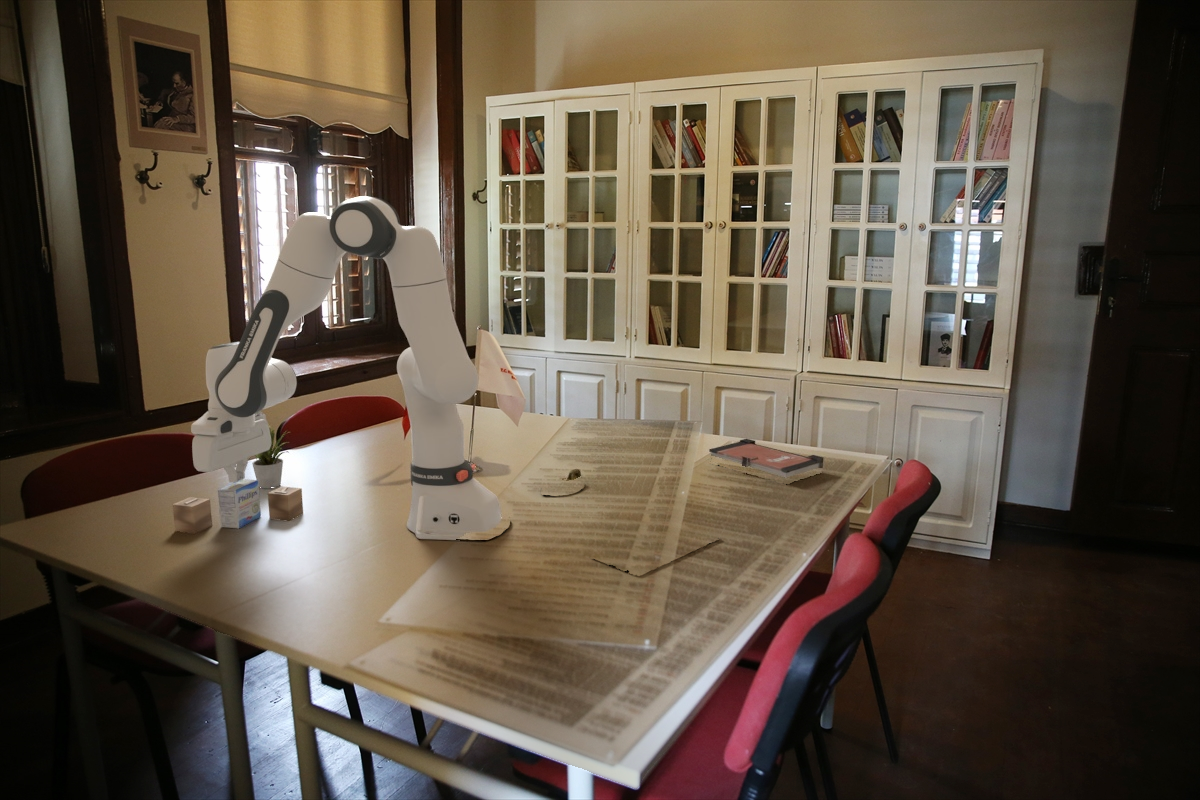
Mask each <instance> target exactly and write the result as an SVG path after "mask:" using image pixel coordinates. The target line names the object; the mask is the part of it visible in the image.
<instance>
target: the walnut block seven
mask: <svg viewBox="0 0 1200 800" xmlns="http://www.w3.org/2000/svg"><path fill="white" fill-rule="evenodd" d="M302 490H303V489H302V488H299V487H293V486H292V487H291V486H279V487H277V488H275V489H273V490H271V491H269V492H267V499H268V514H269V516H268V517H269V519H270V518H271V519H270V520H275V519H280V520H279V521H284V520H287V521H286V522H290V521H293V520H294V519H296V518H298V517H300V516H302V515H303V514H304V506H303V491H302ZM301 514H302V515H301ZM299 515H300V516H299ZM297 516H298V517H297ZM293 518H294V519H293Z"/></svg>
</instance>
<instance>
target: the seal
mask: <svg viewBox="0 0 1200 800" xmlns="http://www.w3.org/2000/svg"><path fill="white" fill-rule="evenodd" d="M580 476H581V477H582V473H581V470H580V469H579V468H574V469H571V470H570V471H569V472H568V475H567V477H565V478H561V479H562V480H564V479H566V478H567V480H566V481H569V480H574V479H576V478H578V477H580Z"/></svg>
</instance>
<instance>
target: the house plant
mask: <svg viewBox="0 0 1200 800" xmlns="http://www.w3.org/2000/svg"><path fill="white" fill-rule="evenodd" d="M270 424H271V423H268V425H269V430H270V436H271V447H270V449H269V450H267V451H265V452H262V453H260V454H257V455H254V456H252V457H249V458H248V460H250V459H251V458H253V457H256V458H255V459H256V460H254V461H253V462H252V468H253V471H254V474H255V480H257V481H258V486H259V487H261V488H260V489H262V488H271V487H276V486H278V487H280V486H281V485H280V484H282V475H283V474H282V473H283V464H284V459H282V458H280V456H281V455H282V454H285V453H289V454H290V452H289V451H288V450H287V451H282V449H283V448H282V447H281V446H282V445H284V444H289V443H290V442H289V441H288V442H287V441H286V442H285V441H284V442H283V443H280V442H281V440H282V439H283V438H284V436H286V432H287V430H286V431H285V432H283V434H282V435H281V436H280V438H279V439H278V440H277V441H276V442H274V441H275V436H276V435H275V428H274V427H273V426H272V427H271V425H270ZM288 433H290V431H288V432H287V434H288ZM290 444H291V443H290ZM280 451H282V452H280ZM279 485H280V486H279ZM276 488H277V487H276ZM271 489H272V488H271Z"/></svg>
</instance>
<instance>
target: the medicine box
mask: <svg viewBox="0 0 1200 800" xmlns="http://www.w3.org/2000/svg"><path fill="white" fill-rule="evenodd" d="M217 497H218V507H219V519H220V526H221V528H226V529H238V530H239V528H240V529H241V528H243V527H245V526H247V525H248V523H249V524H250V523H252V522H254V521H255V519H256V520H257V519H259V518H261V517H262V515H261V513H262V512H261V501H260V500H261V499H260V488H259V486H258V481H257V480H256V479H249V478H248V479H247V478H245V479H243V480H240V481H238V482H235V483H230V484H228V485H226V486H223V487H222V488H219V489H217ZM253 520H254V521H253ZM246 524H247V525H246ZM244 525H245V526H244Z"/></svg>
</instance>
